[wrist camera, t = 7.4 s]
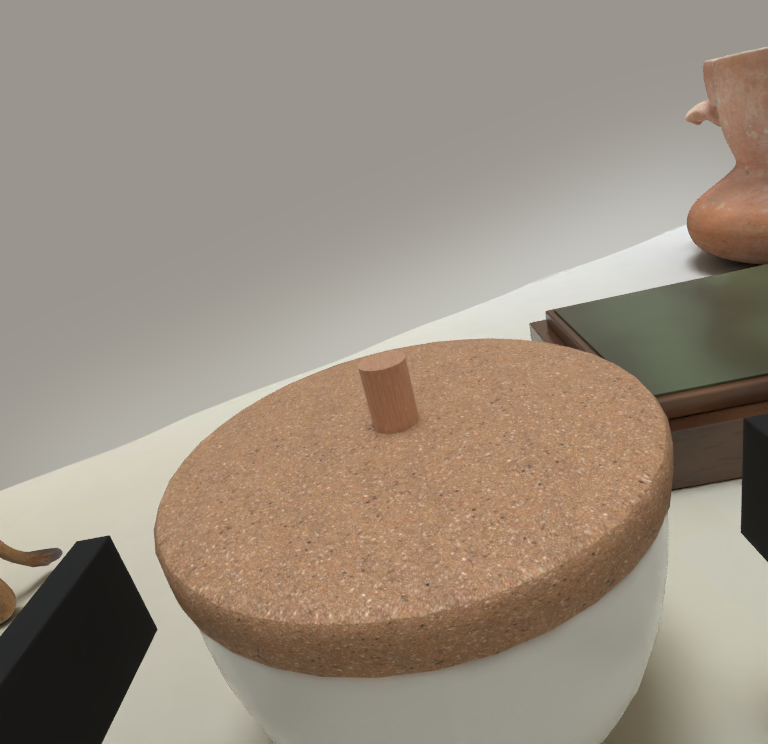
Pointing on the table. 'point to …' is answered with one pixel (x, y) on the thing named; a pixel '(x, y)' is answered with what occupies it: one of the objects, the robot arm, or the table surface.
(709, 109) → the orange-brown waisted vessel
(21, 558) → the lion figurine
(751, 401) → the holder
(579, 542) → the lidded bowl
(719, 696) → the table surface
